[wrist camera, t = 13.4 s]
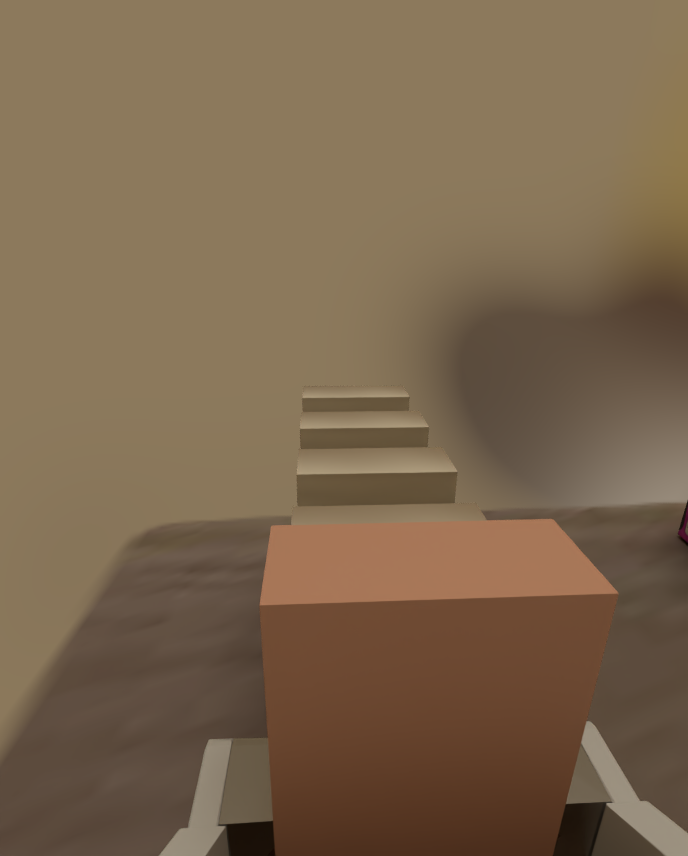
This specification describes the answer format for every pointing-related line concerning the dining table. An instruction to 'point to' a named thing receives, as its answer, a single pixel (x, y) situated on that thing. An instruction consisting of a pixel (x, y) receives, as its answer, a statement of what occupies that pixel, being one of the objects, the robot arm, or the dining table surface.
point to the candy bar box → (684, 525)
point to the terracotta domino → (427, 684)
